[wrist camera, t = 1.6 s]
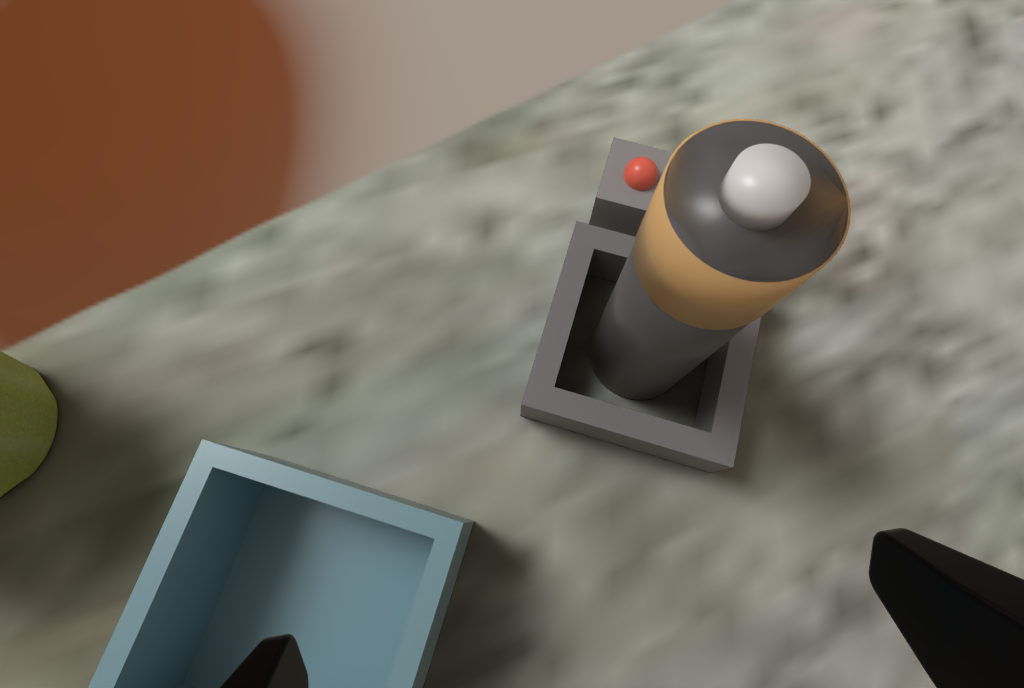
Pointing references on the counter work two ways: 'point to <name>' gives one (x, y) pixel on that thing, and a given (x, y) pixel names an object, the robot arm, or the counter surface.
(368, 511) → the bin
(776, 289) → the battery cell
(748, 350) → the tester
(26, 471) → the plant pot
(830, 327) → the counter surface
